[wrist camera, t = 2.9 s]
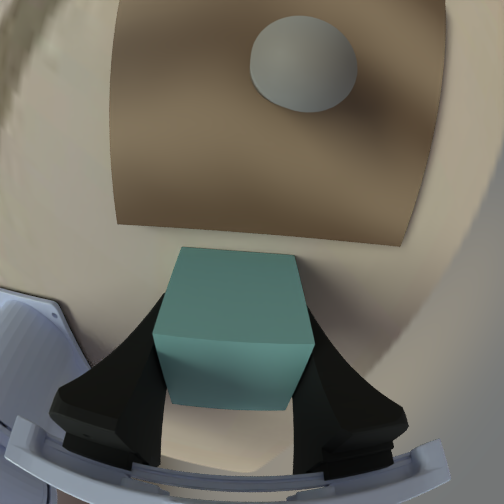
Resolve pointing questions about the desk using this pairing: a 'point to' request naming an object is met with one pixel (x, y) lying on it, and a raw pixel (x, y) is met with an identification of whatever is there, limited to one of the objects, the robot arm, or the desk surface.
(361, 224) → the base plate
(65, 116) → the desk surface
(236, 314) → the teal cube
